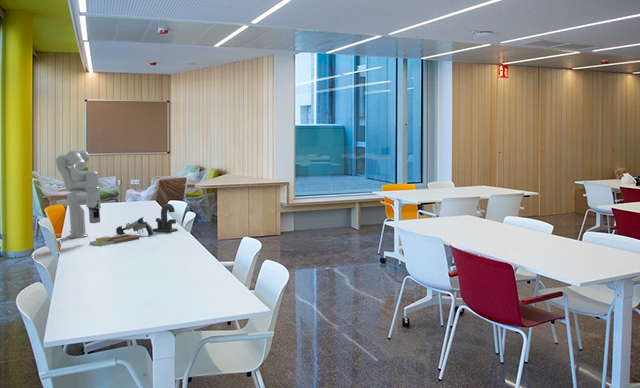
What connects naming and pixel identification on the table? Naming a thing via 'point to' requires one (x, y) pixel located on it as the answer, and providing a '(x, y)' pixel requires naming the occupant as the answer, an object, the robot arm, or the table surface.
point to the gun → (136, 227)
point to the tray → (101, 243)
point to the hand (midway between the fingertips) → (94, 217)
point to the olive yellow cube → (107, 239)
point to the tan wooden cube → (100, 240)
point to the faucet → (165, 220)
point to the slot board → (124, 238)
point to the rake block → (91, 216)
